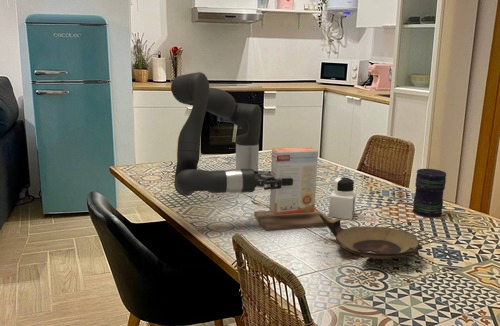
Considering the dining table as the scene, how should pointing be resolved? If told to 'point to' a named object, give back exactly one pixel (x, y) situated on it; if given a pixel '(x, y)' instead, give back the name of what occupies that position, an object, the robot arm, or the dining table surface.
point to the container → (342, 199)
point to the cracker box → (294, 180)
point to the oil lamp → (373, 240)
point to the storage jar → (429, 193)
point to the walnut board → (289, 220)
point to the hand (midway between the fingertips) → (288, 179)
